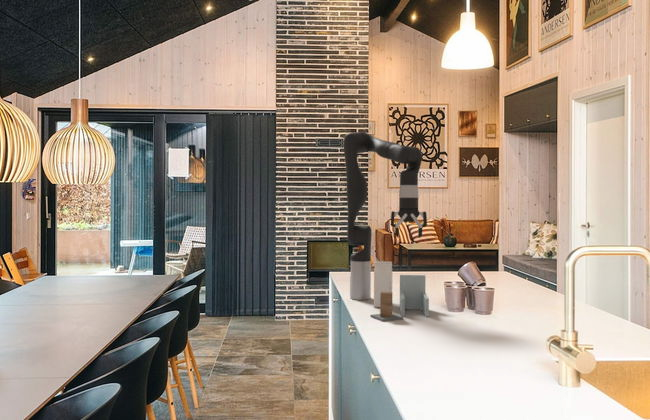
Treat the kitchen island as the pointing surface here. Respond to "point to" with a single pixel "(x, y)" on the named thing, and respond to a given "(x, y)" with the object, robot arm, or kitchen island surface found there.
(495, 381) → the kitchen island surface
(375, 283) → the milk carton
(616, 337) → the kitchen island surface
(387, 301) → the walnut block
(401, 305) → the shelf bay
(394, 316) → the slate pad
